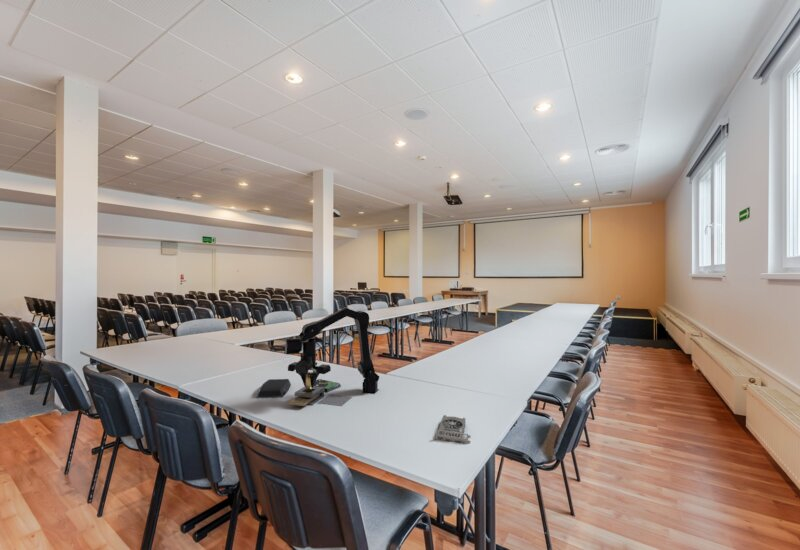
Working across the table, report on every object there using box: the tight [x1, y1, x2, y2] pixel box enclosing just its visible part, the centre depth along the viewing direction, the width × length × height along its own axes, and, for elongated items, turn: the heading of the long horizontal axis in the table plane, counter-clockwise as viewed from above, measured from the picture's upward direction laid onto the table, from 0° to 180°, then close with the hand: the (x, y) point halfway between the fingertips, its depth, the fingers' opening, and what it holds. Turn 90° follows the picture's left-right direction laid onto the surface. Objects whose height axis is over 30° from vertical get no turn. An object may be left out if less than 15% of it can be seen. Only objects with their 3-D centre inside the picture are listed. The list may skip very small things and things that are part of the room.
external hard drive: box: [256, 378, 292, 399], centre depth 169 cm, size 13×19×4 cm
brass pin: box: [306, 371, 313, 392], centre depth 155 cm, size 3×3×10 cm
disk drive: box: [314, 378, 342, 393], centre depth 174 cm, size 10×3×15 cm
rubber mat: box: [316, 394, 353, 407], centre depth 155 cm, size 12×12×1 cm
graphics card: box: [435, 414, 472, 444], centre depth 125 cm, size 17×4×12 cm
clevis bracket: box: [288, 386, 325, 407], centre depth 153 cm, size 16×9×5 cm, turn 164°
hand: (309, 387), depth 155 cm, fingers closed on brass pin, 3 cm apart
